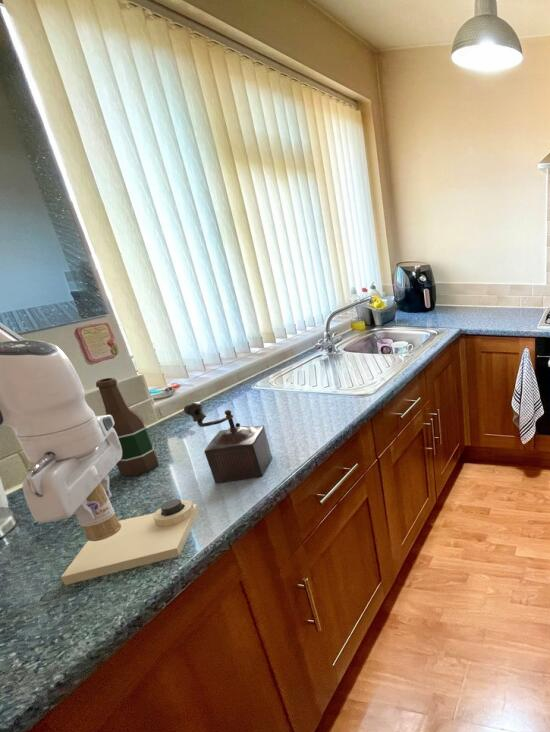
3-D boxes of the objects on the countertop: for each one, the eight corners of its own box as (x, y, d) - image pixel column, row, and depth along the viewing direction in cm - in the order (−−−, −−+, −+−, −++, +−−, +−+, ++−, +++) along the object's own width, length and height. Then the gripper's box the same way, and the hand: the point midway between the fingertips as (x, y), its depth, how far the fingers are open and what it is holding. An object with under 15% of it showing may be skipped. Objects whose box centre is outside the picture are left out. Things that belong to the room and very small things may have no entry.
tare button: (160, 518, 80) (158, 510, 79) (166, 508, 82) (163, 501, 82) (180, 513, 81) (177, 506, 80) (185, 504, 83) (182, 497, 83)
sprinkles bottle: (93, 546, 69) (60, 480, 64) (83, 536, 71) (50, 472, 66) (127, 529, 73) (98, 466, 68) (116, 520, 75) (88, 459, 70)
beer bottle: (130, 462, 104) (94, 376, 95) (166, 457, 106) (134, 372, 98) (113, 479, 97) (72, 387, 89) (151, 473, 99) (116, 383, 91)
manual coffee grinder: (274, 454, 108) (258, 392, 101) (263, 477, 98) (244, 410, 91) (207, 463, 104) (185, 399, 97) (188, 488, 94) (163, 419, 87)
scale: (64, 585, 68) (56, 569, 67) (103, 532, 80) (96, 518, 79) (180, 556, 74) (174, 541, 73) (199, 510, 86) (195, 497, 85)
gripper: (53, 467, 57) (91, 543, 62) (116, 411, 75) (142, 474, 80) (-8, 478, 55) (36, 556, 60) (71, 418, 72) (100, 482, 77)
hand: (97, 509), depth 70 cm, fingers closed on sprinkles bottle, 4 cm apart
